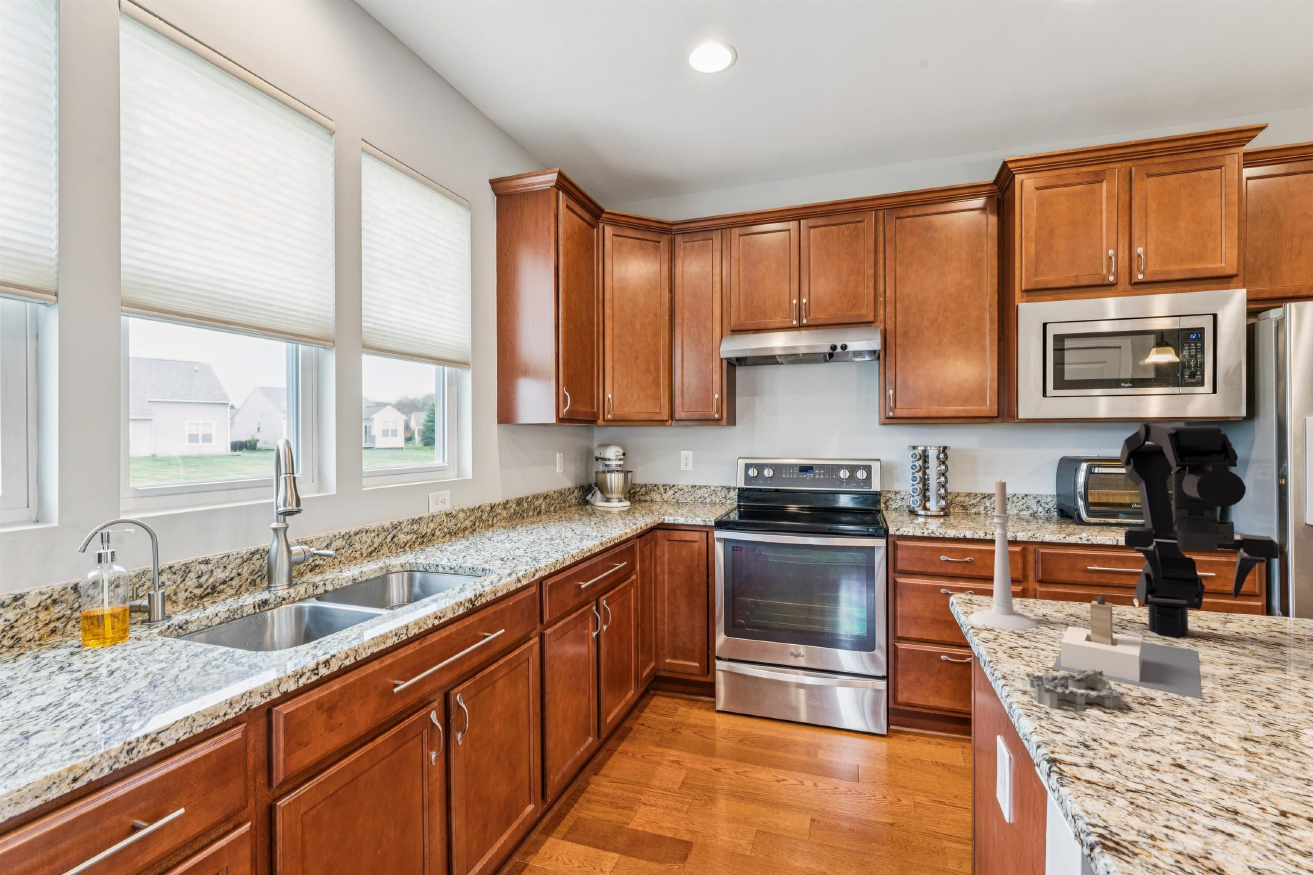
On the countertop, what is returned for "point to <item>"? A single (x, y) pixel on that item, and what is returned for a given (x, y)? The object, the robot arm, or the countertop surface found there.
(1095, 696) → the egg carton
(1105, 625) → the peg
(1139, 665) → the holder
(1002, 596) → the candlestick
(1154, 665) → the board
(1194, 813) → the countertop surface
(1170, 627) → the robot arm
